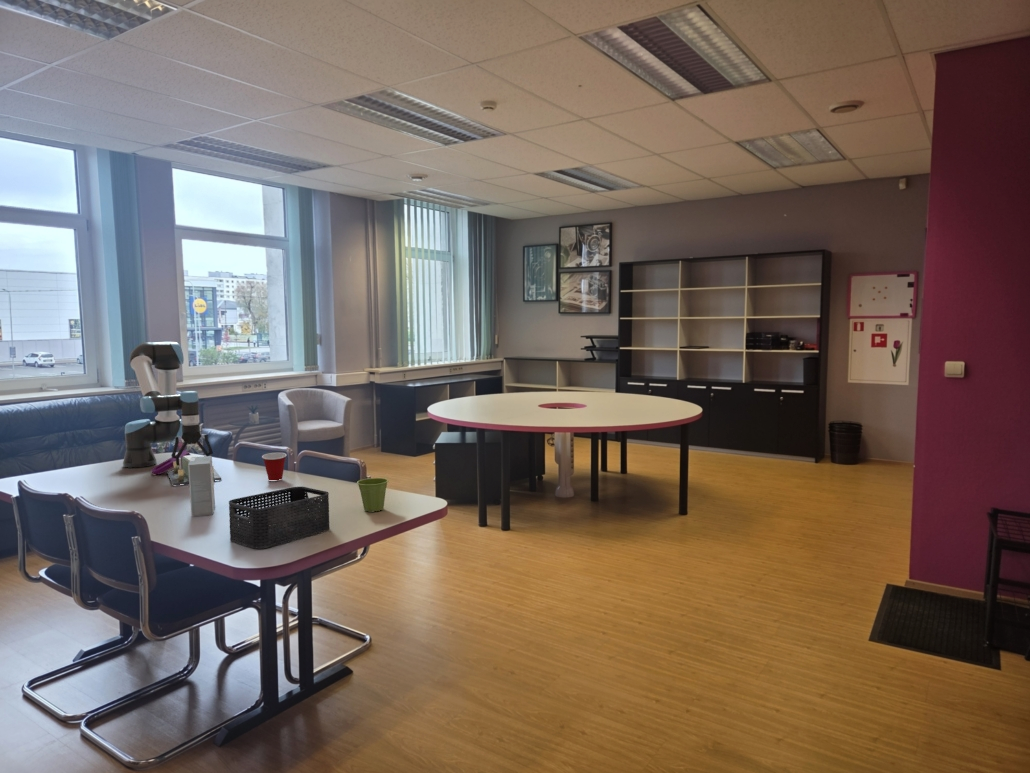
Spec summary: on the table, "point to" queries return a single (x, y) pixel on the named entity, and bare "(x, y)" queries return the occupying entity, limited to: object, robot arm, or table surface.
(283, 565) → the table surface
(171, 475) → the chassis plate
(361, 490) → the plant pot
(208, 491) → the hard drive box
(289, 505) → the storage bin
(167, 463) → the mounting bracket
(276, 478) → the plastic cup
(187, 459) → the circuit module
